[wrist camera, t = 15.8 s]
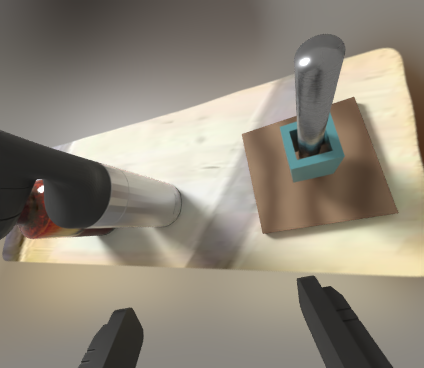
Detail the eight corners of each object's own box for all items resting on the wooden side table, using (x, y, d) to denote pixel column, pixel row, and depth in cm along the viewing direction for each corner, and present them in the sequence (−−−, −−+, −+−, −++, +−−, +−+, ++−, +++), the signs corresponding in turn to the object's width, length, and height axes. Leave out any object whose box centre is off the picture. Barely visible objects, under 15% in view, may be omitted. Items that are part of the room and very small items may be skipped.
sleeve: (293, 182, 30) (290, 169, 22) (284, 149, 31) (279, 127, 24) (333, 173, 28) (344, 156, 21) (322, 138, 29) (329, 110, 22)
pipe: (300, 176, 33) (299, 85, 11) (296, 161, 33) (287, 46, 12) (318, 172, 32) (354, 64, 10) (313, 157, 32) (338, 23, 11)
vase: (103, 182, 52) (-4, 159, 34) (128, 206, 48) (19, 195, 29) (83, 218, 53) (-34, 215, 35) (105, 244, 48) (-15, 257, 30)
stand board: (264, 233, 35) (262, 233, 34) (243, 137, 39) (241, 134, 38) (393, 213, 29) (398, 213, 27) (352, 101, 33) (354, 96, 32)
